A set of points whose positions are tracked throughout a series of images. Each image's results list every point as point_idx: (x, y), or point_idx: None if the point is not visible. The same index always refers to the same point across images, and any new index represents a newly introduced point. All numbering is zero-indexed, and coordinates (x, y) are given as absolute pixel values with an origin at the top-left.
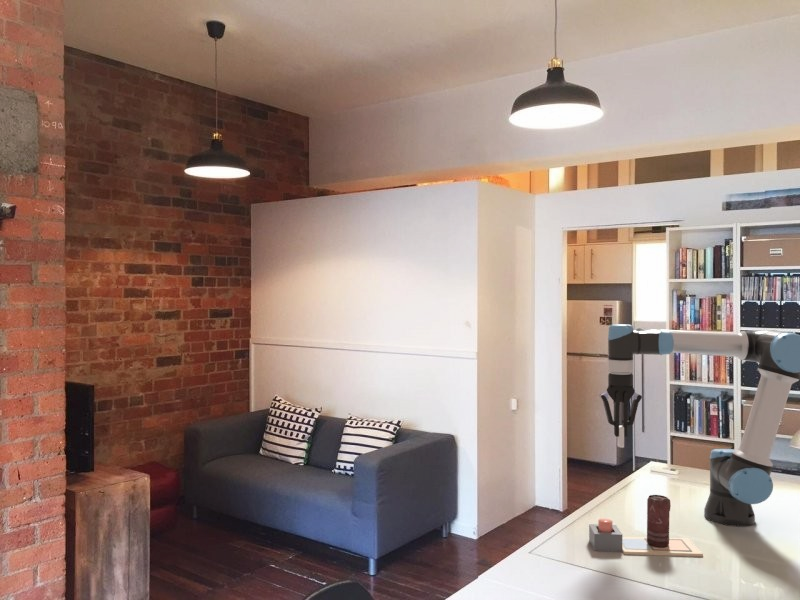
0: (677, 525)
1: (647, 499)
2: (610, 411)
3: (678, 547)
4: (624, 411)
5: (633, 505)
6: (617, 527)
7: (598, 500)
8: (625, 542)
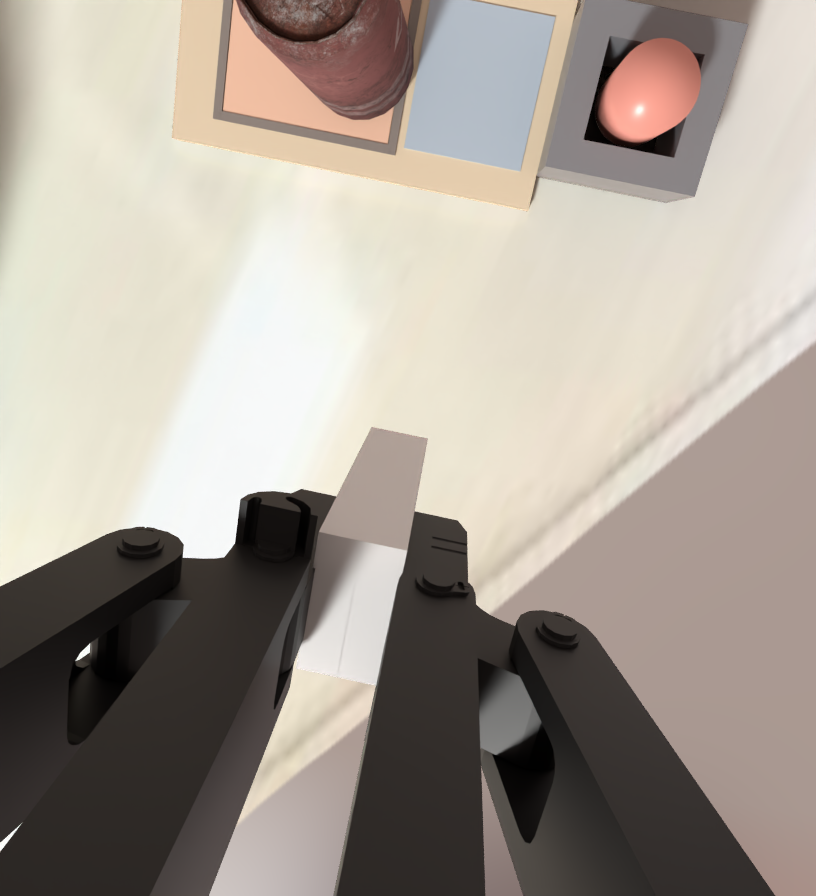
0: (147, 350)
1: (379, 5)
2: (651, 870)
3: None
4: (184, 770)
5: None
6: (557, 121)
7: None
8: (515, 109)
